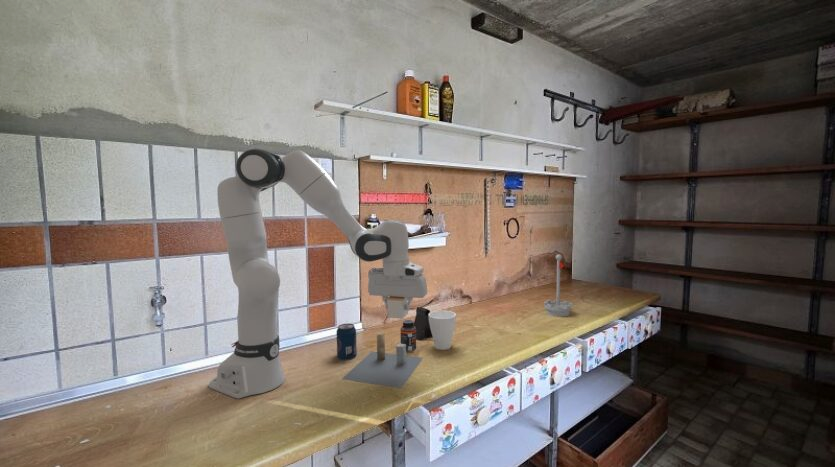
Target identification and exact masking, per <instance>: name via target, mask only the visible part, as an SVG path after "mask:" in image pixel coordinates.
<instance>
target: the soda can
mask: <svg viewBox="0 0 835 467" xmlns="http://www.w3.org/2000/svg"><path fill="white" fill-rule="evenodd" d="M357 355H358V350H357V329H356V327H355V324H353V323H342V324H339V325H338V326H337V329H336V356H337V359H338V360H341V361H342V360H344V361H346V360H352V359H354V358H356V357H357Z"/></svg>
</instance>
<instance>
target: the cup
mask: <svg viewBox="0 0 835 467" xmlns="http://www.w3.org/2000/svg"><path fill="white" fill-rule="evenodd" d="M428 316H429V324H430V329H431V333H432V336H433V337H432V339H433V346H434V348H435V349H436V350H442V351H443V350H445V351H446V350H449V349H450V348H451V347H452V346H451V344H452V339H453V335H454V331H455V326H456V319H457V314H456V312H453V311H450V310H440V309H439V310H434V311H430V313H429V315H428Z"/></svg>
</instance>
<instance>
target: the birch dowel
mask: <svg viewBox="0 0 835 467" xmlns="http://www.w3.org/2000/svg"><path fill="white" fill-rule="evenodd" d="M376 352H377V360H379V361H382V360H385V353H386V334H385V332H377V333H376Z"/></svg>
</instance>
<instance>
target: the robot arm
mask: <svg viewBox="0 0 835 467" xmlns="http://www.w3.org/2000/svg"><path fill="white" fill-rule="evenodd" d="M235 171H236V174H237V175H236V176H232V177H227V178H226V179H223V180H222V181H220V182H219V184H218V185H217V193H216V194H217V206H218V212H219V213H218V214H219V216H220V221H221V225H222V226H221V227H222V230H223V234H224V238H225V242H226V247H227V253H228V254H227V255H228V260H229V264H230V271H231V272H230V273H231V276H232V280H233V282H234V285H235V286H236V287H237V290H238V291H237V292H238V301H237V302H238V307H237V315H236V317H237V318H236V319H237V338H238V339H237V340H236V341H235V342H233V343H231V345H232V346H231V348H234V347H235V348H234V351H233V352H232V353H231V354H230V355H229V356H228V357H227V358H225V359H224V360H223V361H222V362H220V363H219V365H218V367H217V375H216V376H215V377H214V378H212V379H211V380H210V382H209V383H208V388H210V389H212V390H214V391H217V392H218V393H222V394H224V395H227V396H229V397H232V398H234V399H241V398H245V397H248V396H252V395H253V396H254V395H260V394H263V393H267V392H270V391H272V390H274V389H276V388H278V387H279V386H282V384H283V383H284V382H285V380H286V376H285V374H284V371H283V367H282V363H281V357H280V337H279V336H280V335H279V334H278V320H277V319H278V316H277V315H278V314H277V312H278V310H277V309H278V302H279V301H278V300H279V292H280V286H281V276H280V273H279V272H278V270H277V268H276V267H275V266H274V265H273V264H271V263H270V262H269V255H268V245H267V239H268V238H267V231H266V228H265V222H264V218H263V213H262V210H261V204H260V198H259V196H260V193H261V192H263V191H265V190H268V189H269V188H272V187H274V186H276V185H277V184H279V183H285V184H286V185H288V186H289V187H290V188H291V189H292V190H293V191H294V192H295V193H296V195H298V196H299V198H300V199H301V200H302V201H303V202H305V204H307V205H308V206H309V207H311V209H313V210H315V211H316V212H317V213H320V214H321V215H324V216H326V218H328V219H329V220H331V222H332V223H334V225H335V226H336V227H337V228H338V229H339V230H340V231H341V232H342V233H343V235H344V236H345V237H346V239H347V240H348V243H349V246H350V248H351V251H352V253H353V254H354V255H355V256H357V257H358V258H359V259H360V260H362V261H363V262H368V263H369V262H370V263H371V262H375V261H379V260H382V267H372V268H370V269H369V271H368V273H367V276H368V285H367V293H368V294H369V296H375V297H376V296H378V297H381V299H382V302H384V304H385V309H386V310H388V306H387V298H388V297H390V296H393V297H407V300H408V303H407V304H405V305H404V310H408V311H410V310H411V303H412V302H413V300H414V299H423V298H425V297H426V296H427V294H428V284H427V283H428V282H427V279H426V276H425V275H424V274H423V272H424V266H421V265H418V264H415V263H413V262H411V261H410V256H409V252H408V251H409V232H408V228H407V225H406V224H405V222H402V221H400V220H399V221H398V220H393V219H385V220H383V221H382V222H381V223H379V224H378V225H377V226H374V228H371V229H368V228H366V227H364V226H363V225H361V224H360V223H359V221H358V220H357V219H356V218H355V217H354V216H353V214H352V213H351V212H350V211H349V210H348V209H347V206H345V204H344V202H343V199H342V196H341V192H340V189H339V188H338V185H337V184H336V183H335V181H334V179H332V177H331V176H330V174H328V172H327V171H326V170H325V169H324V168H323V167H322V166H321V164H320V163H318V162H317V161H316V160H315V159H314V158H313V157H312V156H310V155H309V154H307V153H306V152H304V151H303V150H293V151H290V152H289V153H287V154H286V155H284V156H283V157H281V155H278V154H275V153H272V152H270V151H268V150H266V149H260V148H253V149H252V148H251V149H248V150H246V151H244V152H243V153H241V154H240V155H239V157H238V158H237V160H236V164H235Z"/></svg>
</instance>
